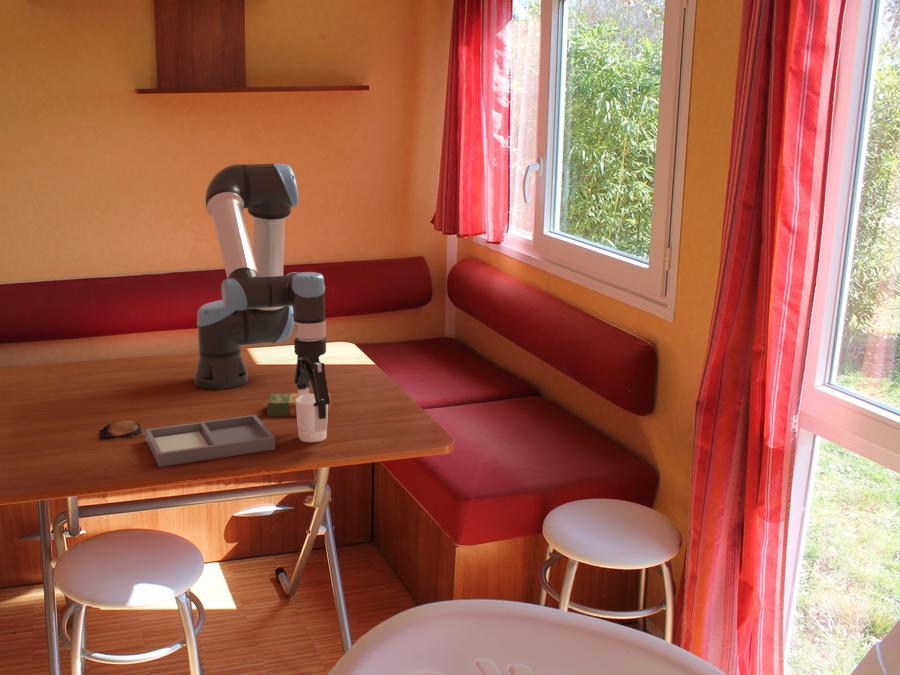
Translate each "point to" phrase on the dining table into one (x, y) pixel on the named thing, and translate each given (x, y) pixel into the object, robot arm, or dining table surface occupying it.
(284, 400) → the carton
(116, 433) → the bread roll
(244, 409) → the dining table surface
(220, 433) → the gray divided tray
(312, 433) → the white cup
